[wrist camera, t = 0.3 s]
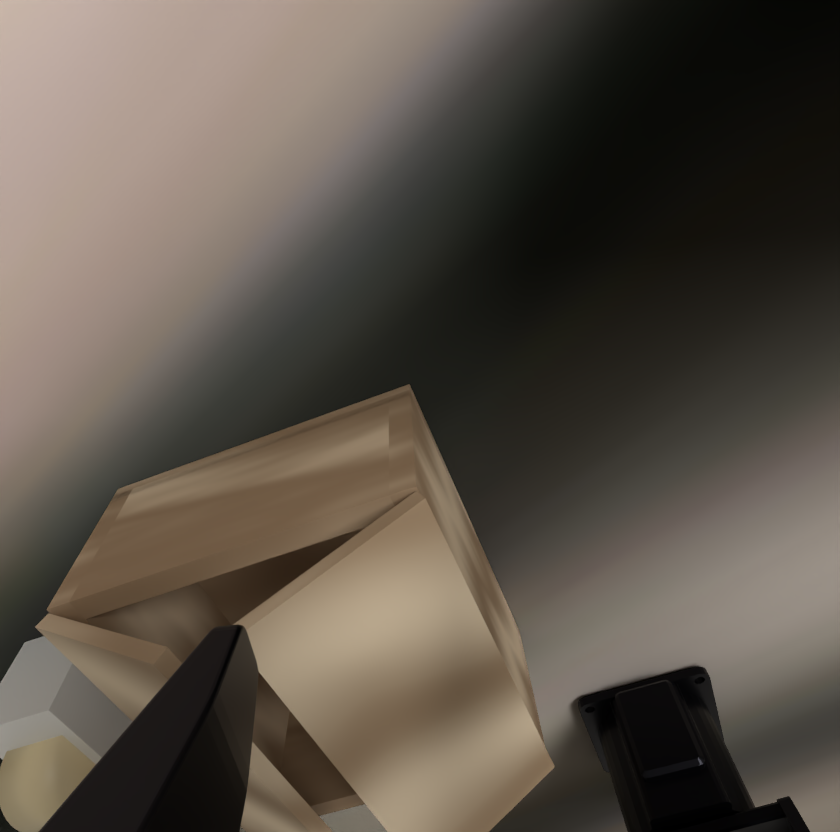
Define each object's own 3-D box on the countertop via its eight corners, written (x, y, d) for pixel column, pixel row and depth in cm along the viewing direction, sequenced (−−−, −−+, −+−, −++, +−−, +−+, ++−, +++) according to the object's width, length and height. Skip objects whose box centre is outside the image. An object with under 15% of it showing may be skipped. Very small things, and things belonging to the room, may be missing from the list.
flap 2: (545, 757, 24) (554, 767, 24) (424, 874, 23) (432, 887, 22) (416, 490, 18) (425, 497, 17) (228, 628, 16) (233, 639, 15)
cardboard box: (519, 631, 30) (547, 756, 24) (285, 699, 31) (266, 829, 26) (409, 384, 23) (416, 486, 18) (118, 489, 24) (46, 609, 19)
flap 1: (380, 885, 23) (373, 900, 22) (265, 830, 26) (258, 842, 26) (168, 647, 16) (153, 664, 16) (48, 613, 19) (34, 627, 19)
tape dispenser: (201, 730, 33) (162, 873, 27) (139, 747, 33) (89, 892, 28) (95, 617, 28) (23, 761, 23) (26, 639, 29) (-62, 785, 23)
